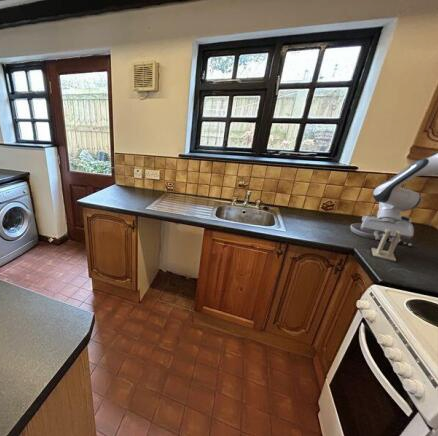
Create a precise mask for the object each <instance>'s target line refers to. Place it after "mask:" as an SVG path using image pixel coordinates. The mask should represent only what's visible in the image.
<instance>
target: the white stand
mask: <svg viewBox="0 0 438 436" xmlns="http://www.w3.org/2000/svg"><path fill="white" fill-rule="evenodd" d="M396 232H397V233H396V237H394V238H393V241H392V243H390V245H389V248H388V250H383V249H384V247H385V244H386V243H387V242H386V240H387V238H388V235H389V233H390V230H389V229H388V228H386V229H385V231H384V233H383V236H382V239H381V240H379V243H378V245H377V248H376V247H371V254H372V256H373V257H376V258H380V259H384V260H389V261H392V262H397V259H396V256H395V254H394V253H395V252H394V251H395V249H396V248H397V245H398V244H399V243H398V241H399V239H400V240H401V238H400V237H401V232H400V231H398V230H397V231H396Z"/></svg>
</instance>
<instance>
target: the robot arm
mask: <svg viewBox="0 0 438 436" xmlns="http://www.w3.org/2000/svg"><path fill="white" fill-rule="evenodd" d="M420 176H438V152H437V153H436V154H433V155H432V156H431V155H430V156H429V157H426V158H421V159H419V160H417V161H414V162H413V163H412V164H410V165H409V166H407V167H406V168H404V169H403V170H401V171H400V172H398V173H397V174H395V175H394V176H392V177H391V178H390V179H388V180H387V181H385V182H383V183H381V184H379V185H377V187H375V188H374V190H373V192H372V197H373V199H374V200H375V201H376V202H377V203H378V211H377V212H376V216H375V215H371V214H365V215H363V216H362V217H361V221H362V222H361V223H360V224H361V227H360V228H361V230H364V231H369V232H374V235H375V237H376V239H374V240H376V241H381V240H380V237H381V236H378V233H380V234H383V233H384V231H385V229H386V228H388V229H389V230H390V231H395V232H396V231H397V230H398V231H400V232H401V237H400V239H405V240H410V239H412V238H413V236H414V233H415V229H414V225H413V224H412V222H413V219H412V218H410V217H408V216H405V215H403V214H401V212H406V211H409V210H413V209H415V208H417V207H419V205H420V204H421V201H422V196H421V194H420V193H419V192H416V191H414V190H411V189H409V188H408V189H407V188H404V187H402V186H403V185H405V184H406V183H407V182H409V181H411V180H412V179H415V178H416V177H420ZM391 238H392V239H391ZM392 241H393V237H390V238H389V241H387V243H388V244H389V243H390V244H391V243H392Z"/></svg>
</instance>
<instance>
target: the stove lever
mask: <svg viewBox="0 0 438 436" xmlns="http://www.w3.org/2000/svg"><path fill="white" fill-rule="evenodd" d="M396 233H397V232H395V231H390V233H389V235H388V238H387V240H386V242H385V243H388V241H389V238H392V237H393V238H394V237H396ZM382 236H383V235H382ZM382 236H381V237H380V240H379V241H381V239H382Z"/></svg>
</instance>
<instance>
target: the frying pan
mask: <svg viewBox="0 0 438 436" xmlns="http://www.w3.org/2000/svg"><path fill="white" fill-rule="evenodd" d="M361 224H362V223H352V224H351V225H350V231H351V232H352V233H354V234H355V235H357V236H361V237H364V238H367V239H372V240H375V239H376V237H375V235H374V232H369V231H364V230H361V228H360V227H361ZM382 235H383V234H380V233H378V236H382ZM390 238H391V239H392V237H390ZM399 243H401V244H403V245H407V246H408V247H412V246H413V244H412V243H409V242H408V243H407V242H405V241H402V239H401V238H400V239H399V241H398V243H397V244H399Z"/></svg>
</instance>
